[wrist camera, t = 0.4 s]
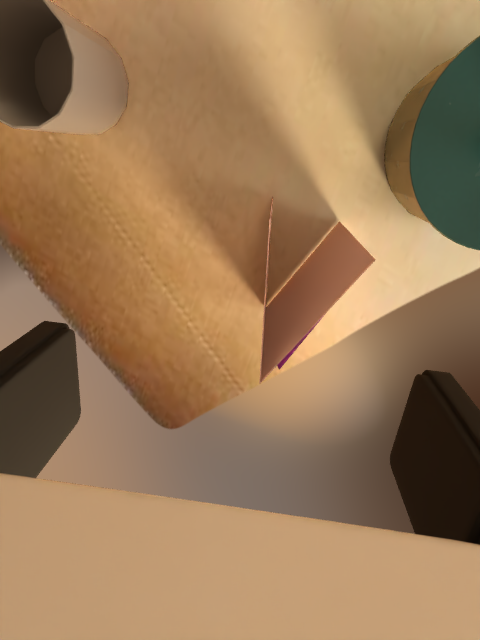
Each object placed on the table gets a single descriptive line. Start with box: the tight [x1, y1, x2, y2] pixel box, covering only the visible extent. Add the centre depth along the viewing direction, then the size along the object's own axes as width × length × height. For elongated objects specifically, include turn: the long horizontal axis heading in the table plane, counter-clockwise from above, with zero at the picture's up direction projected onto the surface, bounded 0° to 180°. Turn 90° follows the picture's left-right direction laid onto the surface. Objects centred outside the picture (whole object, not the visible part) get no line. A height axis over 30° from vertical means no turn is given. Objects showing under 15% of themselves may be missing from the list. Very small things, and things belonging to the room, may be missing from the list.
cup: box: [0, 0, 129, 135], centre depth 30 cm, size 8×8×10 cm
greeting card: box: [260, 197, 375, 383], centre depth 32 cm, size 11×7×15 cm, turn 143°
